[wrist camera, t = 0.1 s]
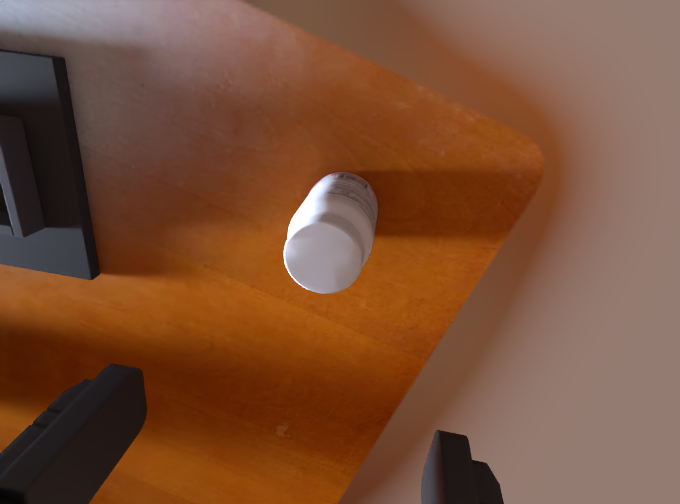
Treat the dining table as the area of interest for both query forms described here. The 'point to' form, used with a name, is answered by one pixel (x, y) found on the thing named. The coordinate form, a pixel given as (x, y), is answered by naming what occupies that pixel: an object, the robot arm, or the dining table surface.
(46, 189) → the pad
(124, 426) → the robot arm
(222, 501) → the dining table surface
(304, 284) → the pill bottle
